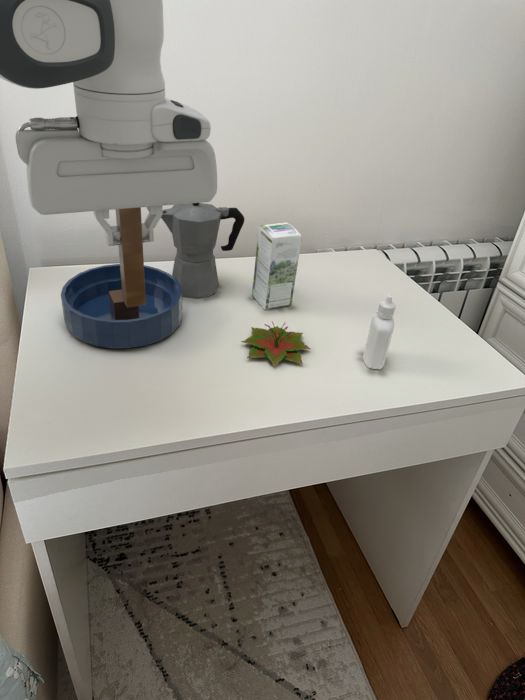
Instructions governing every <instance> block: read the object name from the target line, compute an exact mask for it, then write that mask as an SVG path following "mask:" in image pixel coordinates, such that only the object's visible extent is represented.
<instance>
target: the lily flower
mask: <svg viewBox="0 0 525 700" xmlns="http://www.w3.org/2000/svg"><path fill="white" fill-rule="evenodd" d="M271 323H272V325H273V327H271V326H270V325H269V324H266V323H264V326H266V327H268V328H269V329H266V328H261V327H252V326H251V334H252V335H250V336H248V337H247V338H245V340H242V341H240V343H244V344H248V345H252V347H251V348H250V349H249V351H248V355H247V357H246V359H253V358H256V359H257V358H268V359H269V361H270V363H272V364H273V367H274V368H276V366H277V365H278V364H279V363H280V362H281V361H282V360H286V361H289V362H294V363H297V364H301V365H304V363H303V359H302V354H301V353H300V351H299V350H311V348H310V346H308V345H307V344H305V342H304V341H303V340H301V339H302V337H303V334H304V332H298V331H297V332H295V331H287V329H288V328H289V326H285V325H286V322H284V323H283V325H282V326H281V327H279V326H278V325H279V323H278V324H277V325H276V326H275V324H274V322H273V321H272V320H271ZM284 326H285V327H284Z"/></svg>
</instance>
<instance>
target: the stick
mask: <svg viewBox="0 0 525 700" xmlns="http://www.w3.org/2000/svg"><path fill="white" fill-rule="evenodd" d="M114 210H115V221H116V226H118V228H119V230H120V233H121V238H120V239H121V245H117V246H118V257H119V264H120V271H121V283H122V296H123V300H124V302H125V304H126V307H127V308H128V307H135V306H141V305H146V296H145V278H144V265H145V263H144V260H145V259H144V244H143V243H144V242H143V240H142V223H143V221H142V207H139V208H126V209H114Z"/></svg>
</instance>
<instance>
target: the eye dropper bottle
mask: <svg viewBox="0 0 525 700" xmlns="http://www.w3.org/2000/svg"><path fill="white" fill-rule="evenodd" d="M378 304H379V305H378V308H377V312H375V313H374V314H373V316H372V317H371V322H370V324H369V325H370V326H369V329H368V333H367V338H366V342H365V346H364V350H363V354H362V355H363V356H362V358H363V362H364V365H366V367H367V368H368V369H373V370H382V369H383V367H384V365H385V364H386V363H385V362H386V359H387V355H388V351H389V348H390V345H391V341H392V337H393V333H394V329H395V321H394V320H395V319H394V318H393V317H394V314H395V310H396V304H395V303H394V302H393V296H392V295H391V294H389V295H387V296H386V298H385V299H384V300H381V301H379V303H378Z"/></svg>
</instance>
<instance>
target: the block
mask: <svg viewBox="0 0 525 700" xmlns="http://www.w3.org/2000/svg"><path fill="white" fill-rule="evenodd" d="M109 301H110V311H111V314H112V316H113V318H114V320H130V319H136V318H139V306H135V307H128V308H127V307H126V304H125V302H124V300H123V296H122V289H121V290H114V291H109Z"/></svg>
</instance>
